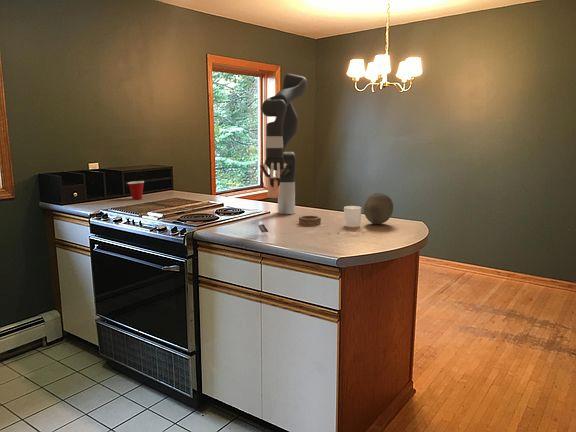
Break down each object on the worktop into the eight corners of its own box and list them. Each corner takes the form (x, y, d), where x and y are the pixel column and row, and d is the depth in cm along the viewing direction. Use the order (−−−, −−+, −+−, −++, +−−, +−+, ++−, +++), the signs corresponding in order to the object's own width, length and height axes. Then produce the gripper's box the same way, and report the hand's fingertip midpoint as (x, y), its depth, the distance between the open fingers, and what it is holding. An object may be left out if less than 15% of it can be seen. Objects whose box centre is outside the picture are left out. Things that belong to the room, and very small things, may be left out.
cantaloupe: (357, 223, 222) (358, 192, 220) (382, 221, 227) (383, 191, 225) (372, 228, 209) (373, 195, 207) (399, 226, 214) (400, 194, 212)
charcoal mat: (258, 225, 217) (258, 224, 216) (283, 224, 219) (283, 223, 219) (262, 231, 203) (262, 230, 203) (289, 230, 205) (289, 229, 205)
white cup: (359, 227, 213) (359, 205, 211) (362, 230, 205) (363, 208, 204) (342, 227, 213) (342, 205, 211) (344, 230, 205) (345, 208, 203)
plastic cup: (128, 198, 312) (127, 181, 310) (145, 197, 315) (144, 180, 313) (128, 200, 302) (127, 182, 300) (145, 200, 305) (144, 182, 303)
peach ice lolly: (267, 196, 209) (266, 176, 208) (278, 196, 210) (278, 176, 209) (269, 199, 201) (269, 178, 199) (282, 198, 202) (281, 178, 200)
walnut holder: (292, 224, 219) (292, 215, 219) (320, 223, 222) (320, 214, 221) (297, 230, 206) (297, 220, 205) (328, 229, 208) (328, 219, 207)
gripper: (288, 146, 204) (288, 185, 207) (257, 146, 202) (258, 186, 205) (291, 147, 197) (291, 187, 200) (259, 147, 195) (260, 188, 198)
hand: (274, 186), depth 203 cm, fingers closed on peach ice lolly, 1 cm apart
